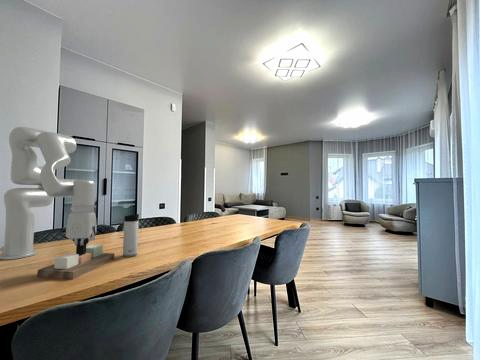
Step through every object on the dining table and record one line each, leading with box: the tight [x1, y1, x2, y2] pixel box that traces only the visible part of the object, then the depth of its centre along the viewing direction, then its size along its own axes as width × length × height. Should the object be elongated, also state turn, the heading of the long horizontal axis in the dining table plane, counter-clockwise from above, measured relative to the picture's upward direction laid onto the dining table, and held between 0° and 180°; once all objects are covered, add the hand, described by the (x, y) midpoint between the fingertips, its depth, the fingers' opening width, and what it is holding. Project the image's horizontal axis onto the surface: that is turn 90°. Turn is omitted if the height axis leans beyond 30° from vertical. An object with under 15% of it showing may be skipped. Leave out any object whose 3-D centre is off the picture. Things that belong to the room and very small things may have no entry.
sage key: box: [86, 244, 103, 258], centre depth 95 cm, size 5×5×4 cm
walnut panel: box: [36, 252, 115, 280], centre depth 88 cm, size 14×22×2 cm, turn 175°
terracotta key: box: [78, 253, 91, 264], centre depth 88 cm, size 5×5×4 cm
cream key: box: [53, 253, 79, 269], centre depth 82 cm, size 5×5×4 cm
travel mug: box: [122, 213, 140, 258], centre depth 104 cm, size 6×7×20 cm
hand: (81, 254), depth 88 cm, fingers closed
